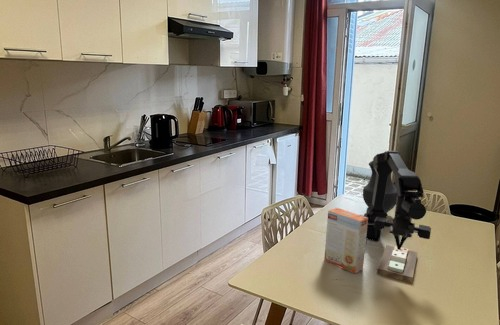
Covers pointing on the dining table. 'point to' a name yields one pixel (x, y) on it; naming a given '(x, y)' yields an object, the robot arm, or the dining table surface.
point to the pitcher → (389, 193)
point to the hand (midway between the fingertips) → (398, 249)
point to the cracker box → (346, 239)
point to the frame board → (408, 267)
